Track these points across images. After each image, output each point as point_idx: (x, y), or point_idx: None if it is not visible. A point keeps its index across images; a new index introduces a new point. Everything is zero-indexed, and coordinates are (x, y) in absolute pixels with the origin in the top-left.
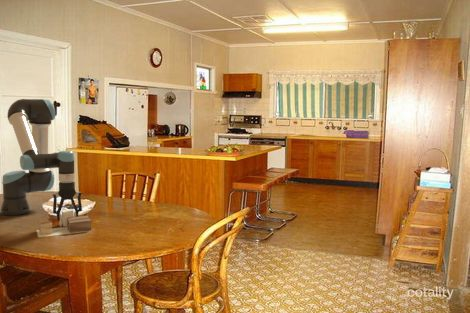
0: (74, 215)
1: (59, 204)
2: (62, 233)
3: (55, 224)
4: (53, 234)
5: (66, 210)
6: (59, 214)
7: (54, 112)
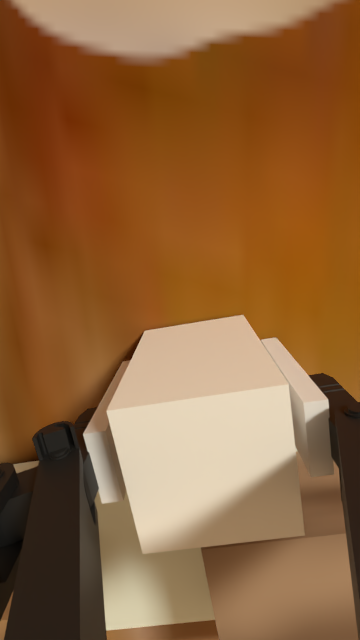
0: (298, 444)
1: (20, 610)
2: (170, 605)
3: (73, 260)
4: (106, 610)
5: (190, 433)
6: (95, 488)
7: None
